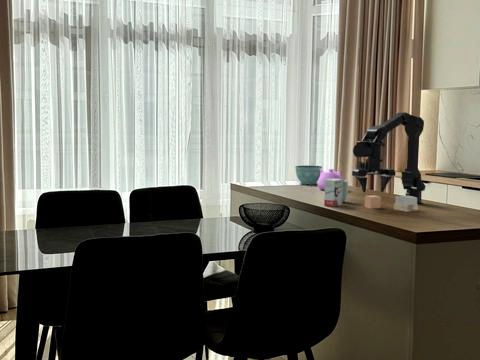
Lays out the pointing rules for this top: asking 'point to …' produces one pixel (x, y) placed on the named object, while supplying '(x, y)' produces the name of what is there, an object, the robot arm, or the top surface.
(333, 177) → the teapot
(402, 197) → the tower top
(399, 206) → the tower base
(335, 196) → the ink box
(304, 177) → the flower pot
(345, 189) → the cup
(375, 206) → the cube
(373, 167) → the robot arm
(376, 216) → the top surface
